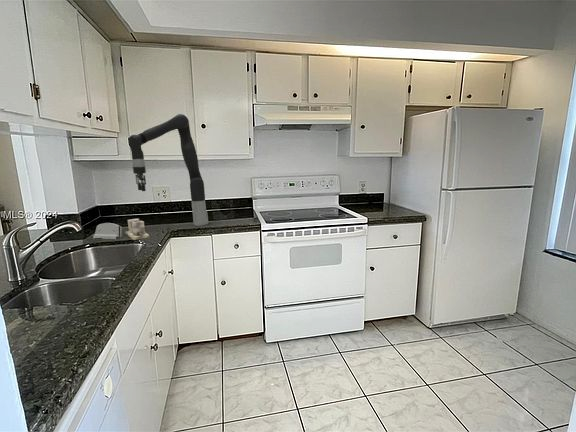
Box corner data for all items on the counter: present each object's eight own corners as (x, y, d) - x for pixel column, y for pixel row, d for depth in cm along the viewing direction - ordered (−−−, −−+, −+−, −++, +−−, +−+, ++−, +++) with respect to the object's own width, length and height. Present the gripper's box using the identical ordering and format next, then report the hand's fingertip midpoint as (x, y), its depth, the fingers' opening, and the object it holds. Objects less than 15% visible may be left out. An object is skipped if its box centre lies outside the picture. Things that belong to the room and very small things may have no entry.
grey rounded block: (92, 238, 194) (94, 222, 196) (98, 238, 199) (100, 223, 200) (115, 239, 191) (117, 222, 192) (121, 239, 195) (123, 223, 197)
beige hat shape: (140, 231, 208) (138, 217, 206) (149, 237, 193) (147, 221, 191) (125, 234, 203) (123, 219, 201) (133, 239, 187) (131, 224, 186)
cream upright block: (139, 230, 204) (137, 218, 203) (140, 231, 201) (139, 219, 200) (129, 232, 201) (127, 219, 199) (130, 233, 198) (129, 220, 196)
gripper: (130, 166, 211) (133, 190, 214) (135, 166, 200) (138, 192, 203) (141, 165, 216) (144, 189, 219) (148, 166, 205) (151, 190, 208)
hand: (141, 190), depth 211 cm, fingers open, 8 cm apart
